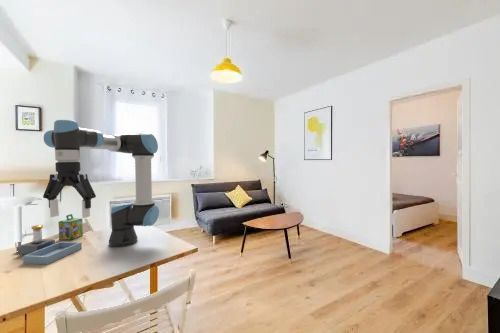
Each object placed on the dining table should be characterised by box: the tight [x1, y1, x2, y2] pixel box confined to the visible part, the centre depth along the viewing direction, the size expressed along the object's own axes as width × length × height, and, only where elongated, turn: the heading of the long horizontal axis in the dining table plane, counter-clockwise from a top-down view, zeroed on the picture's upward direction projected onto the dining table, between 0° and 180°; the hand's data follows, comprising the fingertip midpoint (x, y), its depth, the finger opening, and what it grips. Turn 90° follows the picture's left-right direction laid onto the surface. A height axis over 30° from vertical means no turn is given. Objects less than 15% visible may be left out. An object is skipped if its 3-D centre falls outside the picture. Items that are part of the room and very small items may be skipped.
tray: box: [22, 241, 83, 265], centre depth 124 cm, size 20×13×4 cm, turn 173°
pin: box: [31, 224, 44, 244], centre depth 129 cm, size 5×5×14 cm
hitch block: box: [15, 238, 56, 256], centre depth 129 cm, size 10×16×5 cm, turn 83°
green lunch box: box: [58, 213, 84, 241], centre depth 152 cm, size 9×9×15 cm
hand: (70, 216), depth 91 cm, fingers open, 13 cm apart
